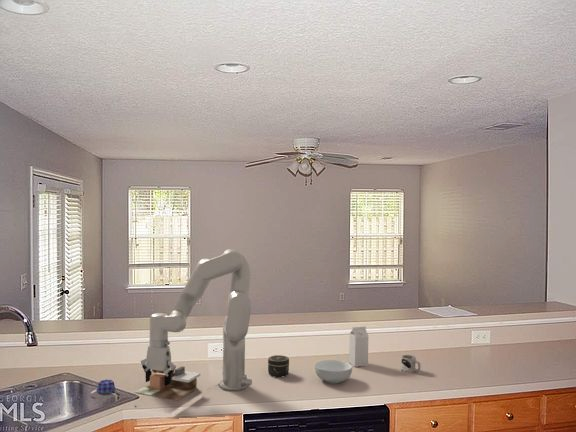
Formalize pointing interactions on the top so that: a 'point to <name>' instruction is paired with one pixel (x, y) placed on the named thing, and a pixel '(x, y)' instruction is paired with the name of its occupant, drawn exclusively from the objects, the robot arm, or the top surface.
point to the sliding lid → (184, 375)
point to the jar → (278, 365)
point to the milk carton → (358, 347)
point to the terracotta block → (157, 380)
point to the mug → (409, 363)
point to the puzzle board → (170, 389)
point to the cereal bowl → (333, 370)
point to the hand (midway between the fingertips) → (157, 382)
